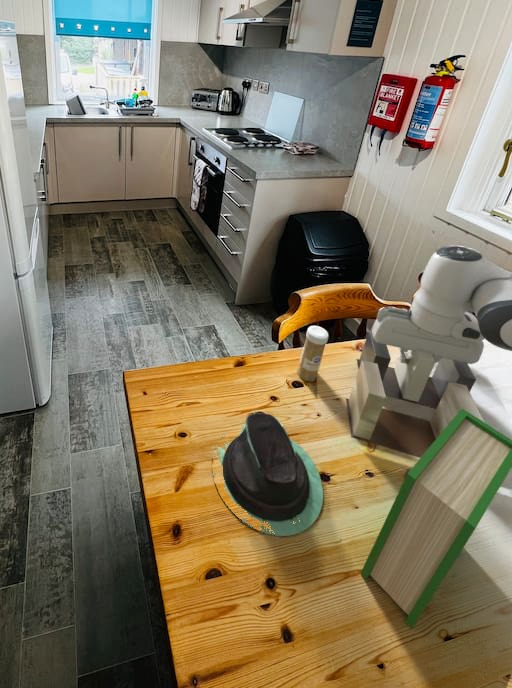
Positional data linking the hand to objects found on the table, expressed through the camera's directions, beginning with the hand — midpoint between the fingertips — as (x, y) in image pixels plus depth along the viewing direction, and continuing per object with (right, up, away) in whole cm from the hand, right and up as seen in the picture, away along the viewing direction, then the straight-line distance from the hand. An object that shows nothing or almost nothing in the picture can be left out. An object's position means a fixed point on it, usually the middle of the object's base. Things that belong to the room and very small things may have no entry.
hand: (414, 364), depth 90 cm
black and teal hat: (-39, -14, -16) cm, 45 cm away
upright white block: (0, -6, +3) cm, 7 cm away
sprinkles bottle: (-22, -5, +6) cm, 24 cm away
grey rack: (0, -7, +3) cm, 8 cm away
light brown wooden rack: (-9, -12, -8) cm, 16 cm away
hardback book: (-19, -20, -28) cm, 39 cm away
